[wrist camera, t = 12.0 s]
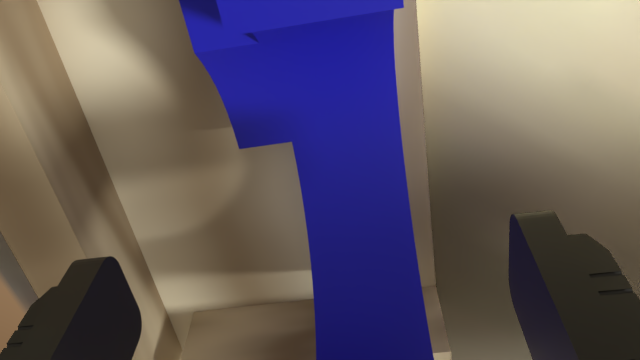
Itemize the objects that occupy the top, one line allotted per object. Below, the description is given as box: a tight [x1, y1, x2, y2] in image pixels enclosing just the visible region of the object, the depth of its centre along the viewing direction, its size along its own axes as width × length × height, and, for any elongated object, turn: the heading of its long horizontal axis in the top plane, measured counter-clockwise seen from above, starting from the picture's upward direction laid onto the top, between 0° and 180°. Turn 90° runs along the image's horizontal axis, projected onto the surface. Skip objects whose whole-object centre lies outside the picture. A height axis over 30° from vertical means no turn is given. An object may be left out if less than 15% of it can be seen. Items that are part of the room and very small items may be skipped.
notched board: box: [0, 0, 451, 360], centre depth 17 cm, size 12×18×4 cm, turn 9°
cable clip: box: [179, 0, 434, 360], centre depth 14 cm, size 12×4×6 cm, turn 10°
